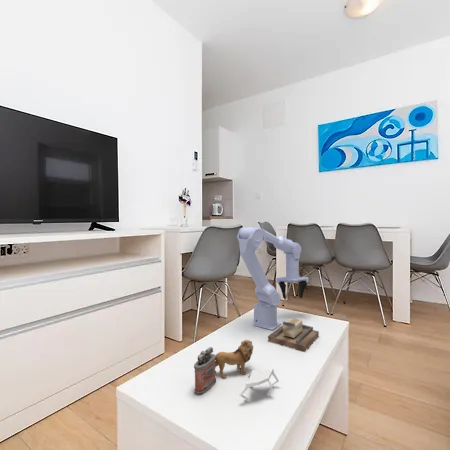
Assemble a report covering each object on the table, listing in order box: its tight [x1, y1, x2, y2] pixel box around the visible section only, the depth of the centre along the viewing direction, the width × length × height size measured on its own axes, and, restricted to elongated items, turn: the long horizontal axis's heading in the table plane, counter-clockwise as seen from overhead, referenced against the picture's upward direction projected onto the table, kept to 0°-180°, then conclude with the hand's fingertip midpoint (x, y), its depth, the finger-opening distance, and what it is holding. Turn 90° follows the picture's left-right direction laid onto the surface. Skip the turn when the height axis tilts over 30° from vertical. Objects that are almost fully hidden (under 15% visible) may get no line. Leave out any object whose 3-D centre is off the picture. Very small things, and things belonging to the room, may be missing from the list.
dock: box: [267, 324, 319, 353], centre depth 105 cm, size 14×15×3 cm
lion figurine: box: [215, 339, 254, 379], centre depth 82 cm, size 15×5×9 cm, turn 113°
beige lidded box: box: [282, 317, 303, 338], centre depth 104 cm, size 4×8×6 cm, turn 143°
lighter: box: [193, 346, 217, 396], centre depth 76 cm, size 8×3×10 cm, turn 148°
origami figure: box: [239, 368, 280, 402], centre depth 72 cm, size 12×8×5 cm
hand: (292, 297), depth 126 cm, fingers open, 7 cm apart
